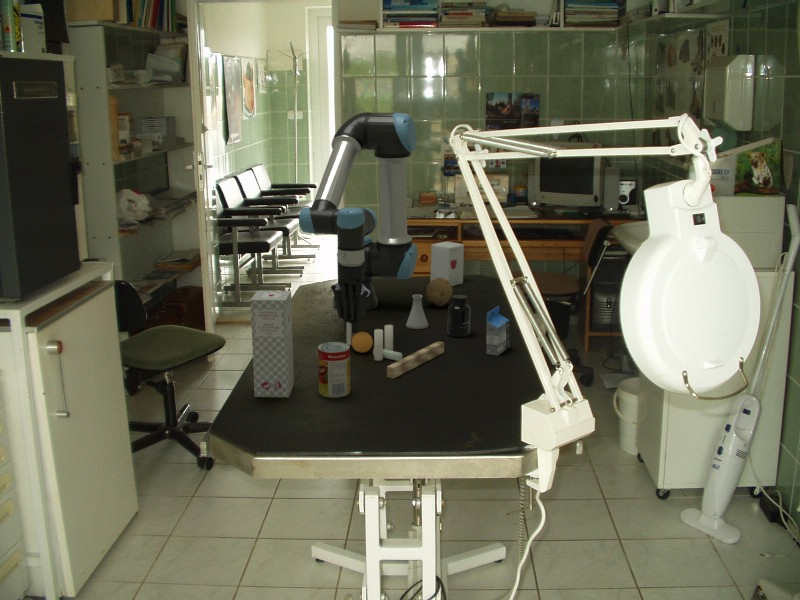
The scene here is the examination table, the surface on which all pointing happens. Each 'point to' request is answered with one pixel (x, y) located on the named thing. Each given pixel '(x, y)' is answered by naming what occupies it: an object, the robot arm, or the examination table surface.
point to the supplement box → (447, 262)
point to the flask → (417, 314)
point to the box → (272, 343)
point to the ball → (362, 342)
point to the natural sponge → (439, 291)
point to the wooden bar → (415, 359)
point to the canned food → (334, 369)
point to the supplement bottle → (459, 317)
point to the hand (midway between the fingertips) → (351, 343)
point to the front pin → (391, 355)
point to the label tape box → (497, 333)
